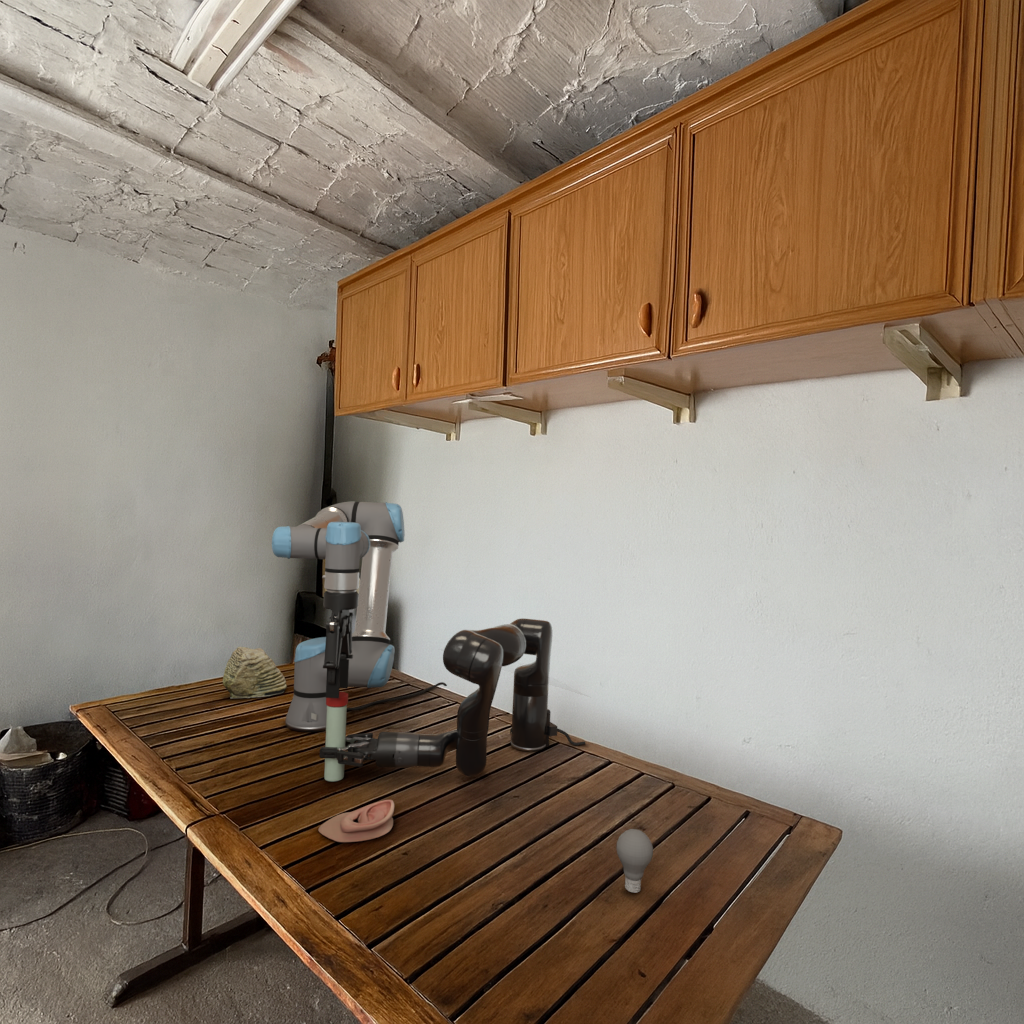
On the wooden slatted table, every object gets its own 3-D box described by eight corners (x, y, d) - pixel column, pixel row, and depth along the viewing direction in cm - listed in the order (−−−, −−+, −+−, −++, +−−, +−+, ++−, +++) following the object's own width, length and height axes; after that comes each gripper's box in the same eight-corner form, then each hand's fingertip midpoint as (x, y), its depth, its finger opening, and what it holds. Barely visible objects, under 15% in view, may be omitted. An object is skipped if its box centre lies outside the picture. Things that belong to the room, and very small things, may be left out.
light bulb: (610, 879, 108) (613, 822, 108) (644, 879, 109) (647, 822, 109) (619, 902, 102) (622, 840, 102) (655, 901, 103) (658, 840, 103)
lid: (350, 705, 142) (350, 696, 142) (328, 708, 140) (328, 699, 140) (345, 699, 146) (345, 690, 146) (324, 701, 144) (324, 692, 144)
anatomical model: (310, 816, 117) (339, 789, 129) (309, 837, 117) (338, 808, 129) (377, 827, 115) (401, 798, 126) (376, 848, 115) (400, 818, 126)
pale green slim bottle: (345, 779, 142) (348, 698, 142) (326, 782, 140) (329, 700, 140) (341, 771, 146) (344, 693, 146) (322, 774, 144) (325, 694, 144)
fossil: (218, 695, 195) (220, 647, 195) (278, 685, 208) (279, 640, 207) (228, 703, 189) (230, 653, 188) (289, 692, 201) (290, 645, 201)
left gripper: (336, 584, 152) (332, 679, 152) (310, 596, 132) (306, 705, 133) (367, 585, 152) (364, 681, 152) (346, 597, 132) (342, 707, 133)
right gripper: (403, 722, 151) (330, 720, 150) (395, 745, 137) (315, 743, 136) (402, 753, 151) (329, 751, 150) (394, 780, 137) (313, 778, 136)
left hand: (337, 692), depth 143 cm, fingers open, 7 cm apart
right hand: (323, 748), depth 143 cm, fingers closed on pale green slim bottle, 4 cm apart
